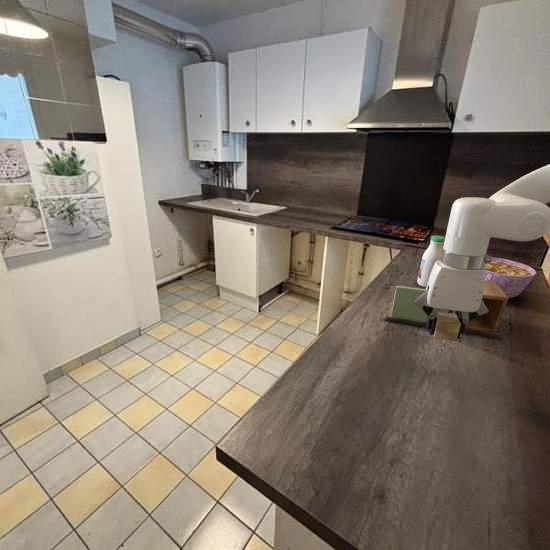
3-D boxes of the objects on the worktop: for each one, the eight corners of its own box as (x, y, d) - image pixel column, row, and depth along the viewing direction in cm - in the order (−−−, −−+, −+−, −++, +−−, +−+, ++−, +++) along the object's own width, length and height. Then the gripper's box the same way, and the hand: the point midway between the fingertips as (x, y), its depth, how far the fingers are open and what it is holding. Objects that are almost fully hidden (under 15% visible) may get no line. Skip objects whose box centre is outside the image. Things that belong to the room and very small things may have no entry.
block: (451, 330, 69) (456, 313, 67) (456, 341, 65) (461, 324, 63) (430, 327, 70) (434, 311, 68) (434, 338, 66) (438, 321, 64)
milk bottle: (441, 285, 117) (453, 237, 109) (431, 290, 113) (443, 240, 105) (423, 279, 123) (433, 233, 115) (412, 283, 119) (422, 235, 111)
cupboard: (482, 314, 96) (493, 281, 92) (498, 338, 84) (512, 301, 79) (384, 300, 105) (389, 269, 100) (385, 320, 93) (391, 286, 88)
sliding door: (450, 326, 89) (459, 293, 85) (455, 338, 83) (465, 304, 79) (390, 317, 94) (396, 285, 89) (391, 328, 88) (398, 295, 83)
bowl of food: (466, 301, 105) (475, 271, 100) (457, 280, 122) (464, 254, 118) (534, 311, 98) (547, 280, 94) (514, 288, 115) (524, 260, 111)
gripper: (502, 257, 61) (480, 330, 68) (415, 250, 66) (402, 319, 73) (517, 269, 55) (491, 349, 62) (419, 261, 59) (405, 336, 66)
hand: (443, 332), depth 67 cm, fingers closed on block, 4 cm apart
